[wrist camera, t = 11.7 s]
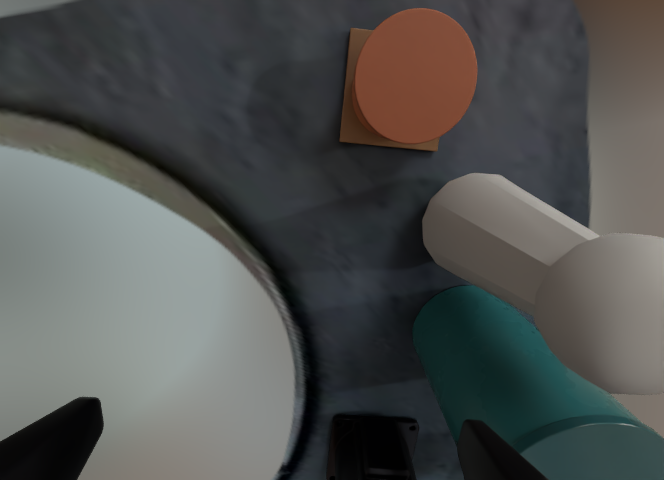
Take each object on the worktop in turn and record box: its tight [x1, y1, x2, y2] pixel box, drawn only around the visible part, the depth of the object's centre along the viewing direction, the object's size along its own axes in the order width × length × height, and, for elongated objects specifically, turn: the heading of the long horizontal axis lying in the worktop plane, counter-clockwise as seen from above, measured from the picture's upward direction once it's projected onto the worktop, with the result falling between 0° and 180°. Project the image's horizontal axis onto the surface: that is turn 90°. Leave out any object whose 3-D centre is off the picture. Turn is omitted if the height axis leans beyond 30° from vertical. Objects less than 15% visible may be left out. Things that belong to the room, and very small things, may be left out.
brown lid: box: [352, 8, 477, 144], centre depth 15 cm, size 5×5×4 cm
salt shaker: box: [422, 173, 664, 395], centre depth 14 cm, size 6×6×13 cm
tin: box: [412, 285, 664, 480], centre depth 17 cm, size 7×7×11 cm
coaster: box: [339, 28, 440, 151], centre depth 18 cm, size 6×6×1 cm
